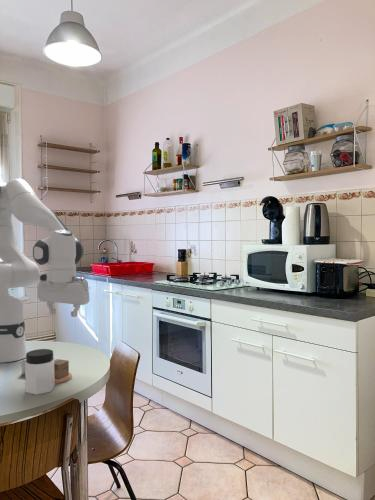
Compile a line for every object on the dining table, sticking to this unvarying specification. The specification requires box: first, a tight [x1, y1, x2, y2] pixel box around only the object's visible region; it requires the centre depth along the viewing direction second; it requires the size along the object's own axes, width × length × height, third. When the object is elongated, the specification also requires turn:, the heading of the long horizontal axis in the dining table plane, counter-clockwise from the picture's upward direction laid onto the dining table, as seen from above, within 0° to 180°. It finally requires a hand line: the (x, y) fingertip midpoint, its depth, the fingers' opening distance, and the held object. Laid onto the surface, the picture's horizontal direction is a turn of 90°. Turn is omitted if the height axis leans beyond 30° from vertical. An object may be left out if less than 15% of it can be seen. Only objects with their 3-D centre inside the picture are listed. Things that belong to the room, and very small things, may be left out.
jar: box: [24, 348, 56, 396], centre depth 130 cm, size 9×8×12 cm
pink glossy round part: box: [55, 372, 73, 384], centre depth 141 cm, size 9×9×1 cm
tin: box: [20, 359, 26, 377], centre depth 145 cm, size 5×5×5 cm
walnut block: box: [54, 358, 70, 379], centre depth 141 cm, size 5×5×5 cm
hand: (63, 315), depth 145 cm, fingers open, 8 cm apart
